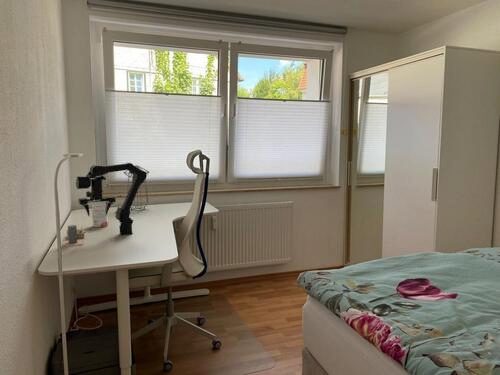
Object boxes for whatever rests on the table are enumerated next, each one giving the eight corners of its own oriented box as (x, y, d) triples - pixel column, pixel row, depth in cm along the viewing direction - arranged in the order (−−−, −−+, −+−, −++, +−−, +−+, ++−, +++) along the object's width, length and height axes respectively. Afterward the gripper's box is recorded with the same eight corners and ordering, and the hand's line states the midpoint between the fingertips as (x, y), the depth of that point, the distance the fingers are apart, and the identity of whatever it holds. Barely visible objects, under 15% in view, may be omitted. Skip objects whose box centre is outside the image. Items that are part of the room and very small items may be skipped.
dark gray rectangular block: (76, 241, 201) (75, 224, 200) (77, 242, 198) (76, 226, 197) (67, 242, 199) (66, 225, 198) (67, 244, 196) (66, 227, 194)
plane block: (84, 233, 218) (84, 226, 218) (83, 238, 208) (83, 230, 208) (69, 235, 215) (68, 227, 215) (68, 240, 205) (67, 232, 205)
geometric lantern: (123, 211, 286) (121, 165, 282) (135, 207, 300) (133, 164, 297) (141, 212, 281) (139, 165, 277) (152, 208, 296) (151, 164, 292)
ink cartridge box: (108, 224, 241) (106, 202, 239) (107, 226, 237) (106, 203, 235) (94, 225, 239) (92, 203, 237) (92, 227, 234) (91, 204, 232)
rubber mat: (83, 240, 205) (83, 239, 205) (83, 245, 196) (82, 243, 196) (63, 242, 201) (63, 241, 201) (61, 247, 192) (61, 246, 192)
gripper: (110, 185, 218) (111, 211, 220) (75, 187, 207) (76, 214, 209) (115, 187, 209) (116, 214, 211) (79, 189, 198) (80, 218, 200)
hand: (97, 215), depth 208 cm, fingers open, 9 cm apart
